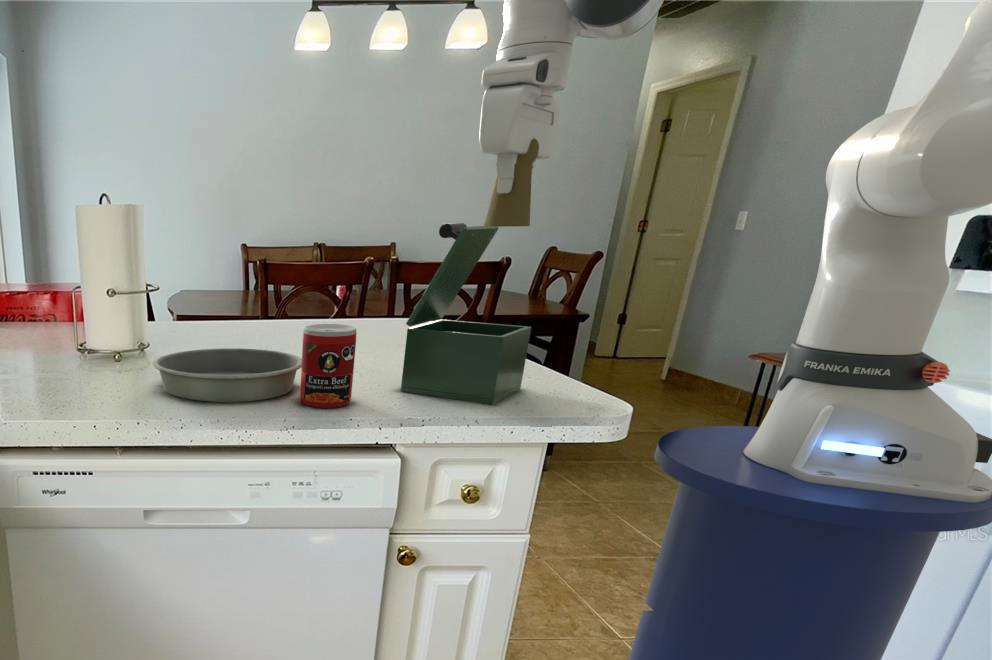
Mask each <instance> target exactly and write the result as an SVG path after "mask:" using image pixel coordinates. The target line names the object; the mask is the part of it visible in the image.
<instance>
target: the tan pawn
mask: <svg viewBox="0 0 992 660" xmlns="http://www.w3.org/2000/svg"><path fill="white" fill-rule="evenodd" d="M538 152H539V143H538V141H537V140H536V139H535V138H533V139H532V140H531V142H530V145H529V148H528V151H527V153H526V154H517V161H516V164H514V178H513V179H515V184H514V190H513V192H512V193H498V192H497V184H498V175H496V178H495V183H494V186H493V190H492V194H491V196H490V201H489V205H488V209H487V213H486V216H485V220H484V224H483V226H485V227H504V228H507V227H530V226H531V204H532V203H531V201H532V176H533V173H532V164H533V162H534V161H535V160H536V161H537V159H536V158H537V156H538ZM496 156H497V157H498V155H496ZM497 157H496V158H497Z"/></svg>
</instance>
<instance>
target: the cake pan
mask: <svg viewBox="0 0 992 660" xmlns="http://www.w3.org/2000/svg"><path fill="white" fill-rule="evenodd" d="M152 366H153V368H154V369H156V370H157V371H159V374H160V378H161V382H162V387H163V389H164V390H165V392H167V394H170V395H172V396H175V397H179V398H181V399H182V398H183V399H187V400H192V401H193V400H194V401H202V402H214V403H215V402H218V403H240V402H241V403H243V402H256V401H263V400H269V399H274V398H278V397H281V396H284V395H286V394H288V393H289V392H291V391H292V389H293V387H294V382H295V379H296V376H297V375H296V374H297V371H298V370H300V369H302V357H299V356H297V355H296V354H292V353H288V352H283V351H279V350H270V349H261V348H260V349H259V348H245V347H244V348H242V347H232V348H230V347H225V348H224V347H223V348H221V347H220V348H203V349H202V348H201V349H191V350H183V351H177V352H171V353H168V354H164V355H161V356H159V357H157V358H155V359H154V360H153V361H152Z"/></svg>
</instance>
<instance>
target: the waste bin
mask: <svg viewBox="0 0 992 660" xmlns="http://www.w3.org/2000/svg"><path fill="white" fill-rule="evenodd" d="M531 333H532V326H526V325H513V324H502V323H489V322H478V321H477V322H476V321H467V320H465V321H464V320H452V319H442V318H440V319H436V320H432V321H429V322H425V323H421V324H418V325H414V326H410V327H408V328H407V329H406V339H405V347H404V348H405V349H404V357H403V364H402V365H403V367H402V373H401V374H402V375H401V384H400V392H405V393H411V394H417V395H423V396H430V397H437V398H438V397H439V398H443V399H452V400H457V401H458V400H459V401H464V402H471V403H477V404H483V405H484V404H485V405H491V406H492V405H495V404H496V403H499V402H500V401H502V400H504V399H506V398H507V397H510V396H511V395H513V394H515V393H516V392H518V391H520V390H521V387H522V382H523V378H524V377H523V376H524V371H525V365H526V360H527V354H528V348H529V343H530V337H531Z"/></svg>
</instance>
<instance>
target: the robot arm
mask: <svg viewBox="0 0 992 660" xmlns="http://www.w3.org/2000/svg"><path fill="white" fill-rule="evenodd" d="M664 2H665V0H504V3H503V10H502V15H503V17H502V18H503V33H502V37H501V40H500V42H499V44H498V49H497V53H496V60H495V61H494V62H493V63H491V64H490V65H488V66H486V67H485V68H484V69H483V71H482V75H481V87H482V88H483V89H485V91H484V93H483V96H482V102H481V110H480V121H479V133H478V143H479V148H480V152H481V153H483V154H487V155H496V156H497V155H498V157H496V173H497V175H498V184H497V192H498V193H512V192H513V190H514V184H515V179H513V178H514V164H516V161H517V154H526V153H527V151H528V148H529V145H530V142H531V140H532V139H533V138H535V139H536V140H537V141H538V143H539V152H538V156H537V158H536V160H535V161H534V162H533V164H532V174H534V171H535V169H536V165H537V160H544V159H550V158H552V156H553V153H554V151H555V146H556V141H557V133H558V126H559V119H560V118H559V116H560V100H559V98H558V97H556V96H555V95H554V93H558V92H560V91H563V90H565V88H566V84H567V80H568V79H567V78H568V75H569V74H568V73H569V68H570V61H571V55H572V50H573V45H574V40H575V39H576V38H577V37H581V38H589V39H590V38H591V39H599V40H603V41H604V40H605V41H615V40H619V39H623V38H627V37H629V36H632V35H634V34H635V33H637V32H639V31H640V30H642V29H643V28H644V27H646V26H647V25H648V24H649V23H650V22H651V21H652V20H653V19H654V18H655V16H656V15H657V14H658V12H659V11H660V10H661V8H662V7H663V5H664ZM964 24H965V25H964V29H963V35H962V36H961V39H960V40H959V43H958V44H957V47H956V48H955V51H954V52H953V53H952V55H951V57H950V58H949V60H948V62H947V63H946V65H945V67H944V68H943V70H942V71H941V74H940V76H938V79H937V80H936V81H935V83H934V84H933V86H932V87H931V88H930V89H929V90H928V92H926V93H925V95H923V97H922V98H921V99H920V100H919V101H918V102H917V103H915V104H914V105H912V106H909V107H905V108H900V109H897V110H893V111H890V112H887V113H885V114H881V115H880V116H878V117H875V118H874V119H873V120H871V121H870V122H867V123H866V124H865V125H863V126H861V127H860V128H859V129H858V130H857V131H855V132H854V133H852V135H849V137H848V138H846V140H844V141H843V142H842V144H840V145H839V147H838V148H837V149H836V150H835V151H834V153H833V154H832V156H831V158H830V160H829V163H828V166H827V168H826V172H825V186H826V191H827V195H828V196H827V203H826V205H827V206H826V210H825V216H824V217H825V218H824V224H823V232H822V241H821V242H822V243H821V252H820V259H819V260H820V261H819V264H818V270H817V275H816V279H815V282H814V286H813V289H812V292H811V294H810V297H809V301H808V304H807V308H806V310H805V313H804V316H803V319H802V323H801V326H800V329H799V332H798V336H797V338H796V341H793V342H791V344H790V347H789V349H788V351H787V352H786V353H785V356H784V359H783V362H782V365H781V368H780V371H779V375H778V378H777V385H776V387H777V388H776V389H777V391H776V393H775V396H774V398H773V400H772V402H771V404H770V407H769V409H768V411H767V412H766V415H765V417H764V418H763V420H762V422H761V424H760V425H759V426H758V427H759V429H758V431H757V432H756V434H755V435H754V437H753V438H752V440H751V441H750V443H749V444H748V445H747V447H746V448H745V449H744V451H743V452H744V454H745V455H746V456H747V457H748V458H750V459H751V460H753V461H755V462H757V463H760V464H762V465H765V466H768V467H771V468H774V469H777V470H780V471H783V472H785V473H787V474H789V475H791V476H793V477H795V478H797V479H799V480H802V481H805V482H810V483H817V484H825V485H833V486H841V487H849V488H856V489H864V490H872V491H880V492H888V493H896V494H904V495H912V496H920V497H928V498H935V499H943V500H951V501H959V502H968V503H978V502H983V501H986V500H988V499H990V498H991V496H992V480H991V479H992V478H991V477H990V476H989V475H988V474H987V473H985V472H983V471H982V470H980V469H978V468H975V465H976V463H980V464H981V463H982V464H987V463H988V462H989V460H990V458H991V457H992V438H990V437H989V436H986V435H983V434H981V433H979V432H976V431H975V428H974V427H973V426H972V425H971V424H970V423H969V422H968V421H967V420H966V419H965V418H964V417H963V416H961V414H959V413H958V412H957V411H956V410H955V409H954V408H953V407H952V406H951V405H950V404H948V403H947V402H946V401H945V400H944V399H943V398H942V397H940V396H939V394H937V393H936V392H935V391H933V390H932V389H931V388H930V387H932V386H934V385H935V384H937V383H941V382H943V380H947V379H948V377H949V376H950V372H951V370H950V369H949V367H948V365H947V364H946V363H944V362H941V361H939V360H936V359H935V358H933V357H932V356H930V355H928V354H927V353H926V352H923V351H922V350H923V348H924V345H925V343H926V341H927V338H928V336H929V334H930V331H931V329H932V326H933V323H934V321H935V319H936V316H937V314H938V311H939V308H940V305H942V304H941V303H942V301H943V298H944V296H945V295H946V291H947V290H948V289H947V288H948V286H949V282H950V270H949V266H948V264H947V259H946V245H947V244H946V242H947V231H948V225H949V224H948V223H949V217H953V216H957V215H961V214H964V213H968V212H971V211H974V210H977V209H980V208H983V207H986V206H988V205H992V0H981V1H980V2H979V3H978V4H977V6H975V8H974V9H973V10H972V12H970V14H969V16H968V18H967V20H966V22H965V23H964ZM497 175H496V176H497Z"/></svg>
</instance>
